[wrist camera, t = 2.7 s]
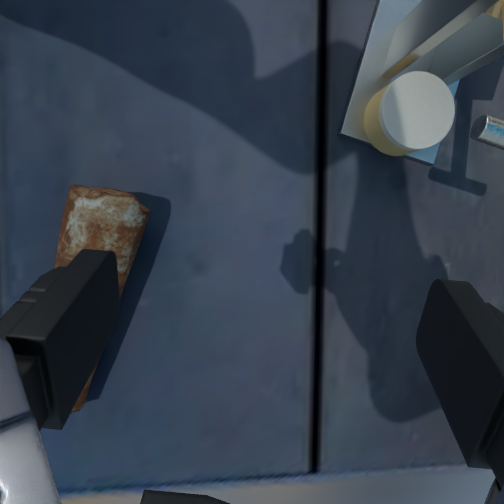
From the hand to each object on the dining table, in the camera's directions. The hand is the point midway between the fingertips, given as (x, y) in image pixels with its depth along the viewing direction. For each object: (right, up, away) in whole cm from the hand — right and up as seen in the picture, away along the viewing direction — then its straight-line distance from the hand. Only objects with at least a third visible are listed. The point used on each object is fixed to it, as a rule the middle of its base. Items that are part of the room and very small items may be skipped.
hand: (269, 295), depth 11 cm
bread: (-14, -3, +26) cm, 30 cm away
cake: (+12, +13, +27) cm, 32 cm away
